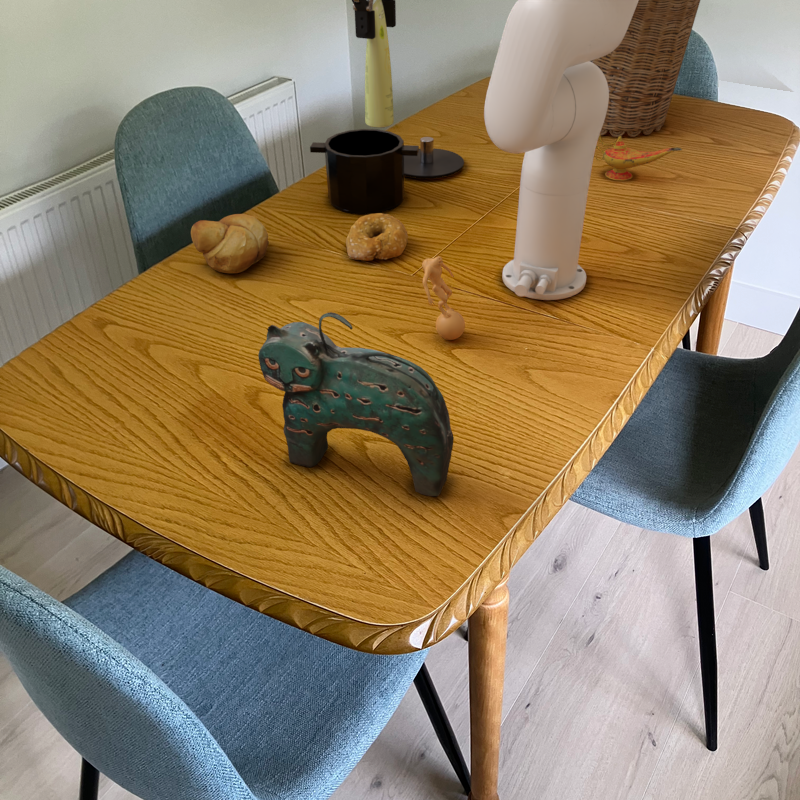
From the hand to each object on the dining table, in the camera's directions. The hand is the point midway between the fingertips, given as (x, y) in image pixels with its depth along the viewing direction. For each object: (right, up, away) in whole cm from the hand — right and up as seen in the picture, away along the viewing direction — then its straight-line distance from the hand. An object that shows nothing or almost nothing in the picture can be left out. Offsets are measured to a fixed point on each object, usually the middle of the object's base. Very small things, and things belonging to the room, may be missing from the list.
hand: (376, 31), depth 124 cm
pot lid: (+9, -12, +30) cm, 33 cm away
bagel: (0, -35, +2) cm, 35 cm away
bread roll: (-22, -37, 0) cm, 43 cm away
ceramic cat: (0, -67, -38) cm, 77 cm away
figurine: (+10, -51, -18) cm, 55 cm away
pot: (-2, -22, +18) cm, 29 cm away
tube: (0, -12, +9) cm, 15 cm away
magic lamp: (+48, -16, +25) cm, 56 cm away
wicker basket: (+52, +3, +49) cm, 72 cm away
